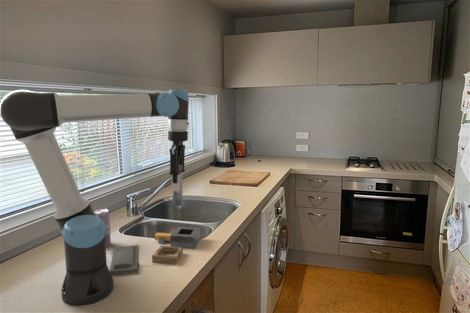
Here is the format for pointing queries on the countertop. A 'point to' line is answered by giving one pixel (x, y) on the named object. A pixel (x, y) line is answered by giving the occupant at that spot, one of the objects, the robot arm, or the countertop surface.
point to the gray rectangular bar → (178, 195)
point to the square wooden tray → (161, 258)
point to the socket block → (184, 237)
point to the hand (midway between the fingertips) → (177, 189)
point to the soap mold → (124, 260)
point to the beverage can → (105, 223)
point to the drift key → (163, 236)
